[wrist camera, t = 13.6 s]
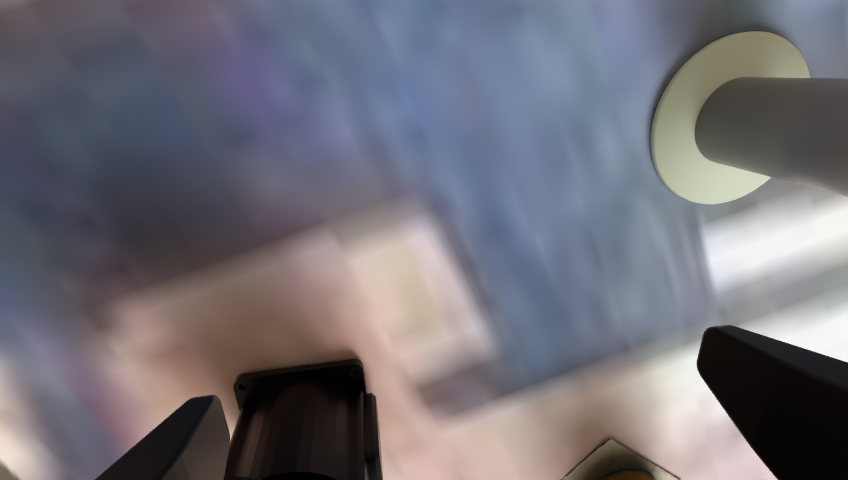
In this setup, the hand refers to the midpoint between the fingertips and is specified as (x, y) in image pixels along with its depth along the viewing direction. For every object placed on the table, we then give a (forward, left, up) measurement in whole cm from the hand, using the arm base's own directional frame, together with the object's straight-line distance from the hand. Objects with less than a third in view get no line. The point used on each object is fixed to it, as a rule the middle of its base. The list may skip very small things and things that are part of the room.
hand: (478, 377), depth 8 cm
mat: (+16, +2, -13) cm, 21 cm away
